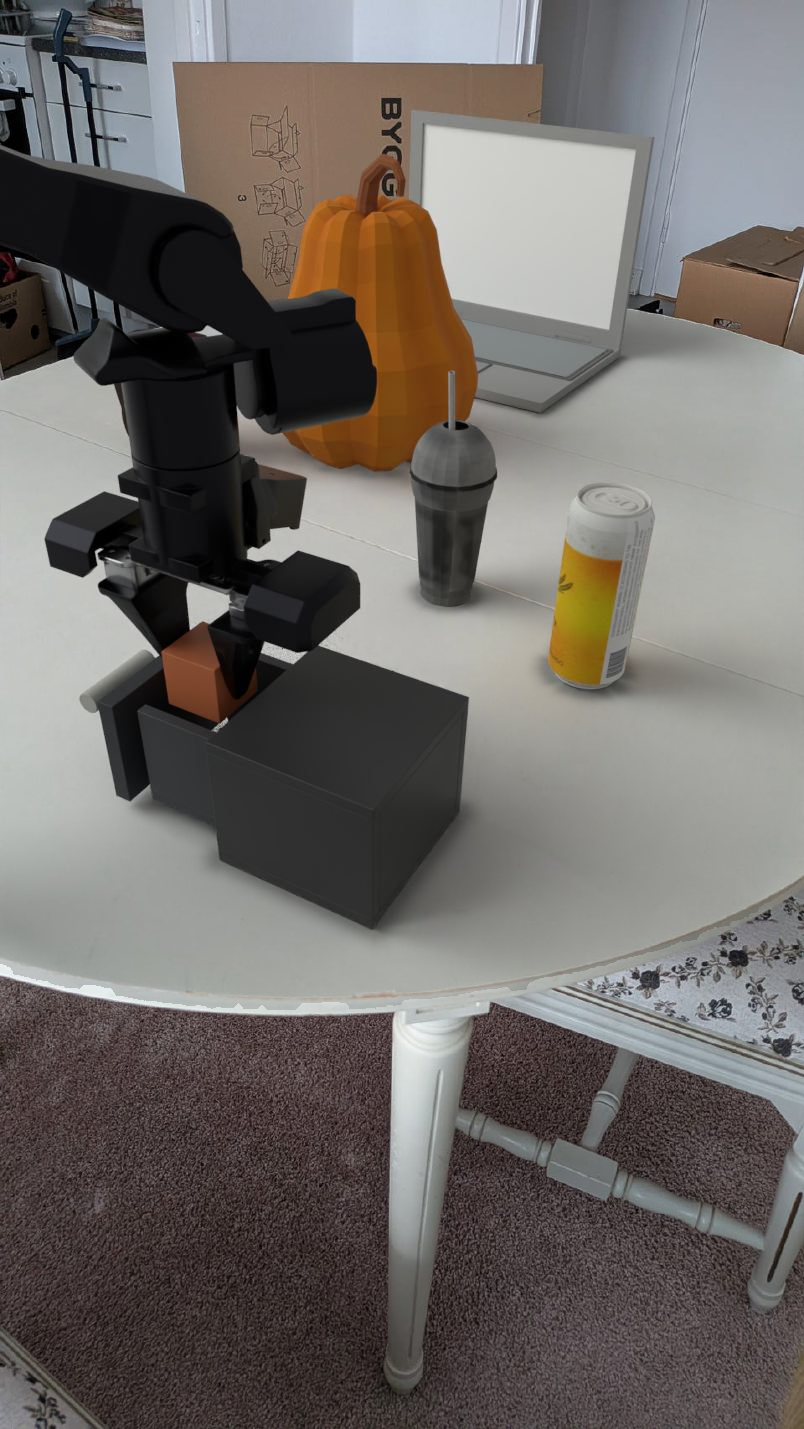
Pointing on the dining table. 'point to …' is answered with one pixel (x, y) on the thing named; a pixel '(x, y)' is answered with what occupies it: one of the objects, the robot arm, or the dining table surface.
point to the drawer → (160, 733)
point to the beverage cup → (451, 504)
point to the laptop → (533, 244)
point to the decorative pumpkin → (387, 321)
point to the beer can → (600, 583)
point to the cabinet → (338, 781)
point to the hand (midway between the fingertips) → (212, 685)
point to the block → (199, 677)
